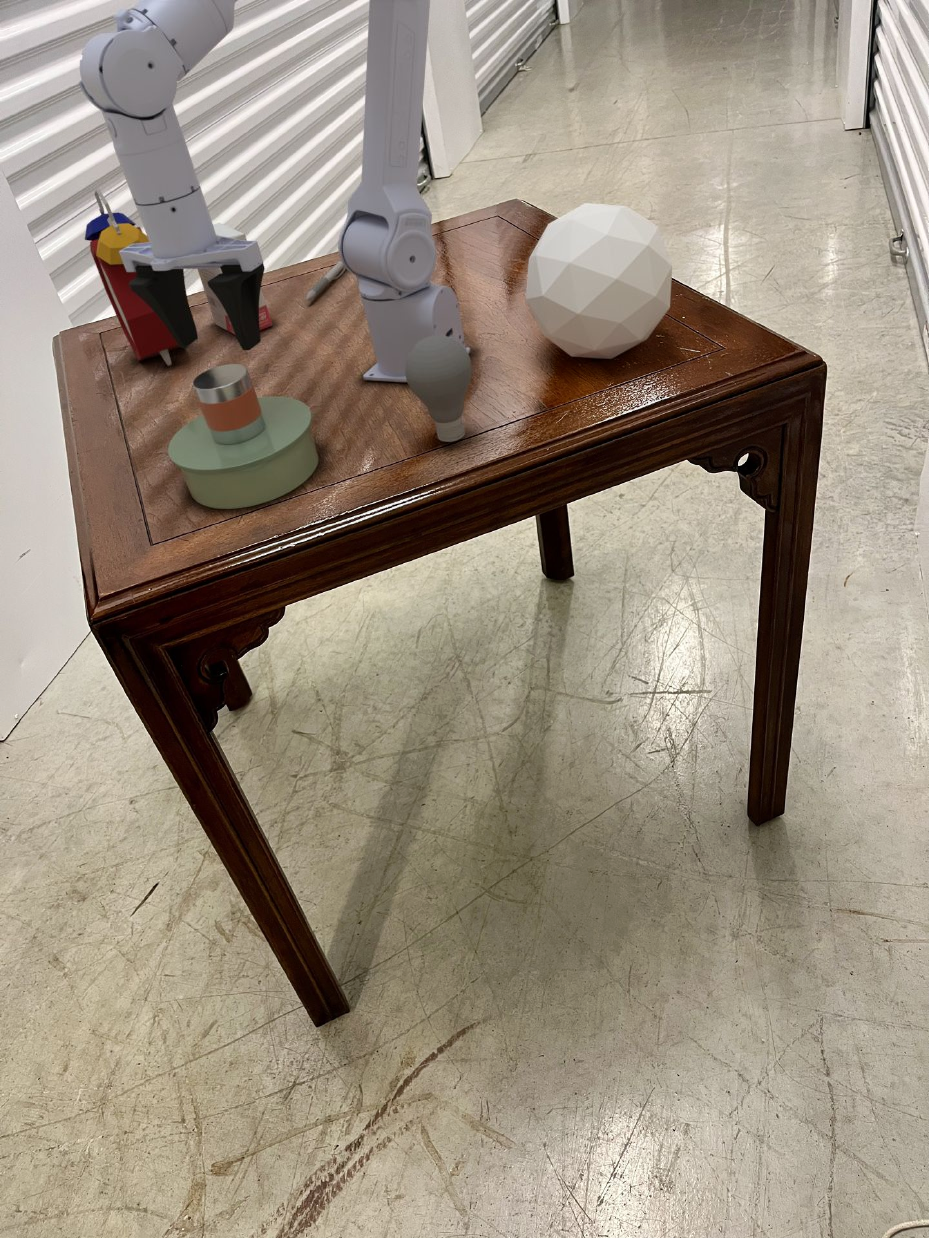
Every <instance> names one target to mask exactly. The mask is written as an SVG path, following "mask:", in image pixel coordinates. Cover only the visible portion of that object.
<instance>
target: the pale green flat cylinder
mask: <svg viewBox="0 0 929 1238" xmlns="http://www.w3.org/2000/svg"><path fill="white" fill-rule="evenodd" d="M257 398H258V401H259V404H260V407H261V410H262V415H263V418H264V421H265V428H264V430H263V431H262V432H261V433H260V434H258V435H257V436H255V437H254V438H252V439H249V440H247V441H244V442H241V443H237V444H228V445H226V444H219V443H217V442H215V441H214V440H213V437H212V435H211V432H210V430H209V428H208V426H207V423H206V421H205V418H204V415H203V414H201V415H199V416H197V417H196V418H194V419H193V420H190V421H189V422H188V423H186V424H185V425H184V426H182V428H180V429H179V430H178V431H177V432H176V433H174V436H173V437H172V439H170V442H169V444H168V448H167V454H168V457H169V459H170V462H171V463H172V464H173V465H174V466H175V467H176V468H177V469H178V470H179V469H180V471H181V474H182V476H183V479H184V481H185V483H186V485H187V486H186V487H187V488H188V491H189V493H190V495H191V497H192V498H193V500H194V501H195V502H197V503H198V504H200V505H202V506H205V507H208V508H212V509H218V510H219V509H220V510H234V509H236V510H237V509H243V508H249V507H253V506H258V505H261V504H265V503H268V502H271V501H273V500H275V499H278V498H281V497H283V496H285V495H287V494H288V493H291V492H292V491H293V490H295V489H297V488H298V487H300V486H301V485H302V484H304V483H305V482H306V481H307V480H308V479H309V478H310V477H311V476H312V475H313V474H314V472H315V470H317V469H316V468H317V467H318V465H319V453H318V449H317V446H316V443H315V440H314V436H313V433H312V430H311V428H312V425H313V419H314V417H313V414H312V411H311V409H310V407H309V406H308V405H306V403H304V402H303V401H301V400H298V399H296V398H292V397H289V396H288V397H287V396H273V395H271V396H257Z"/></svg>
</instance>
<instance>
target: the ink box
mask: <svg viewBox="0 0 929 1238" xmlns="http://www.w3.org/2000/svg"><path fill="white" fill-rule="evenodd" d="M213 227H214V230H215V233H216V235H219V236H224V237H229V238H234V239H239V240H245V241H248V239H247V235H246V233H245V232H241V231H239V230H237V229H235V228H232V227H230V226H228V225H226V224H223V223H221V222H217V223H214V224H213ZM197 272H198V275H199V277H200V281H201V282H200V283H201V285H202V287H203V290H204V294H205V297H206V299H207V303H208V306H209V309H210V312H211V315H212V318H213V321H214V324H215V326H217V327H220V328H222V329H223V330H225V331H227V332H229V333H230V334H233V335H234V336H236V335H235V332H234V329H233V327H232V324H231V321H230V319H229V317H228V315H227V313H226V311H225V309H224V307H223V306H222V304H221V302H220V301H219V299H218V298H217V296H216V295H215V294H214V292H213V291H212V290H211V289H210V287H209V286H208V283H207V282H208V281H209V280H211V279H212V278H214V277H215V276H217V275H218V274H220V273H222V271H221V269H197ZM259 325H260V331H262V330H264V329H267V328H269V327H272V326H273V322H272V320H271V316H270V313H269V309H268V306H267V302H266V299H265V296H264V292H263V290H262V288H261V289H260V297H259Z"/></svg>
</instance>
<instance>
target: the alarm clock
mask: <svg viewBox="0 0 929 1238" xmlns="http://www.w3.org/2000/svg"><path fill="white" fill-rule="evenodd" d="M94 197H95V200H96V202H97V205H98V210H99V213H100V215H98V216H96V217H95V218H93V219H91V220H90V221H89V222H88V223H87V224H86V226H85V234H84V240H85V241H89V248H90V249H89V250H90V253H91V256H92V259H93V261H94V264H95V266H96V270H97V272H98V275H99V277H100V280H101V283H102V285H103V288H104V290H105V292H106V295H107V297H108V299H109V301H110V302H109V303H110V304H111V306H112V308H113V311H114V314H115V315H116V318H117V320H118V322H119V325H120V328H121V330H122V332H123V334H124V336H125V338H126V340H127V341H128V343H129V345H130V347H131V349H132V351H133V353H134V355H135V357H136V359H137V361H138V362H142V361H144V360H147V359H149V358H152V357H156V356H159V355H160V356H161V357H162V359H163V361H164V362H165V364H166V365H167V366H168V367H169V366H172V365H173V364H172V360H171V356H170V353H169V352H170V351H174V350H176V349H179V348H180V346H179V345H178V343H177V342H176V341H175V339H174V338H173V336H172V335H171V333H170V332H169V330H168V329H167V327H166V326H165V325H164V323H163V322H162V321H161V319H160V318H159V317H158V315H157V314H156V313H155V312H154V311H153V310H152V309H151V307H150V306H149V305H148V304H147V303H146V302H145V301H144V300H142V299H141V298H140V297H139V296H138V295H137V294H135V293H134V292H133V291H132V290H131V288H130V286H129V282H130V281H132V280H133V279H135V278H136V274H137V272H127V271H126V269H125V266H124V264H123V261H122V259H121V256H120V254H119V251H121V250H122V249H124V248H126V247H128V246H129V245H131V244H138V243H147V242H149V240H148V237H147V234H146V233H144V232H143V230H142V229H141V227H140V226H137V227H136V225H137V223H136V222H134V221H133V220H131V219H130V218H129V217H128V216H127V215H125V214H124V213H122V212H112V209H111V207H110V204H109V203H108V201H107V199H106V197H105V196H104V194H103V193H102V190H101V189H100V188H98V187H96V188H95V191H94ZM105 209H106V212H107V213H106V212H105ZM185 279H186V276H185V275H184V280H185Z"/></svg>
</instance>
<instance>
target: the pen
mask: <svg viewBox="0 0 929 1238" xmlns="http://www.w3.org/2000/svg"><path fill="white" fill-rule="evenodd" d="M346 270H347V269H346V268H345V266H344V265H343V263H342V261H341V259H340V260H339V261H338V262H337V263H336V264H335V265H334V266H333V267H332V268H330V270H329V271H328V272H327V273H326V274H325V275H324V276H323V277H322V278H321V279H320V280H318V282H317V283H316V284H315V285H314V286H313V287H312V288H311V289H310V290H309V292H308V293H307V295H306V298H305V299H306V301H311V300H313V299H315V298H317V296H318V295H319V294H320V293H321V292H322V291H323V290H324V288H326V287H327V285H328V284H329V283H330V282H331V281H332V280H333V281H334V280H336V279H339V278H340V277H341V276H342V275H343V273H345V271H346Z"/></svg>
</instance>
